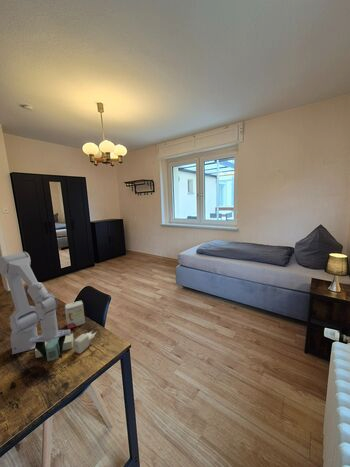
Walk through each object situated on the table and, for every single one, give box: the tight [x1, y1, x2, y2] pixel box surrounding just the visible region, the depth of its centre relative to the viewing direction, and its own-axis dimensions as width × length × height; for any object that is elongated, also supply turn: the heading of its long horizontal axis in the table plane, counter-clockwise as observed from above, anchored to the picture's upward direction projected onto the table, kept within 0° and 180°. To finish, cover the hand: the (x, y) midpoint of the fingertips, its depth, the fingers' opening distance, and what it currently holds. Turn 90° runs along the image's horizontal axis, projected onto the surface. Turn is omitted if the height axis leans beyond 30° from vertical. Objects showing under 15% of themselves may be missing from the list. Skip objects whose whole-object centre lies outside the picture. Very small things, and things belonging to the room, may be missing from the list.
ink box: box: [64, 300, 86, 330], centre depth 106 cm, size 9×5×12 cm, turn 125°
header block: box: [34, 332, 75, 359], centre depth 89 cm, size 14×6×4 cm, turn 112°
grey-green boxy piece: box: [46, 338, 61, 362], centre depth 86 cm, size 4×8×6 cm, turn 22°
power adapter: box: [73, 330, 98, 355], centre depth 91 cm, size 11×5×6 cm, turn 159°
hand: (53, 354), depth 84 cm, fingers open, 5 cm apart
